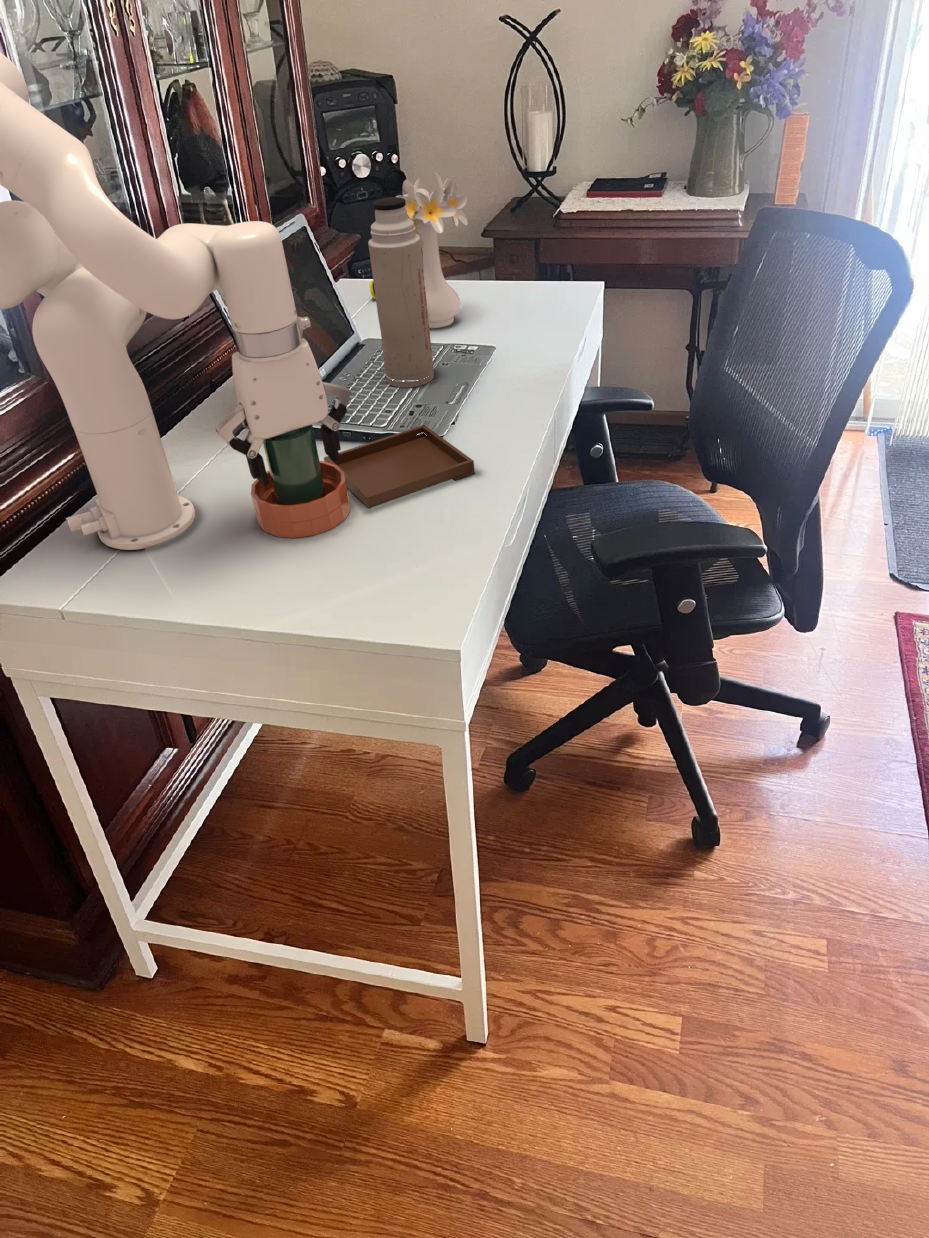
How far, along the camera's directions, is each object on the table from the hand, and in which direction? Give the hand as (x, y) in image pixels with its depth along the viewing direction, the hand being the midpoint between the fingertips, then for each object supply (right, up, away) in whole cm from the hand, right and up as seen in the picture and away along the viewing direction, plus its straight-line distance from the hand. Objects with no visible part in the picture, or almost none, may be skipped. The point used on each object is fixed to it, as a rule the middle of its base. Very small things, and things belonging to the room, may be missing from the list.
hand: (298, 469), depth 119 cm
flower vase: (+16, +36, +57) cm, 70 cm away
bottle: (0, -5, +4) cm, 6 cm away
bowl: (0, -6, +4) cm, 7 cm away
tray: (+12, +2, +12) cm, 17 cm away
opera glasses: (+6, +47, +73) cm, 87 cm away
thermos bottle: (+12, +21, +38) cm, 45 cm away
